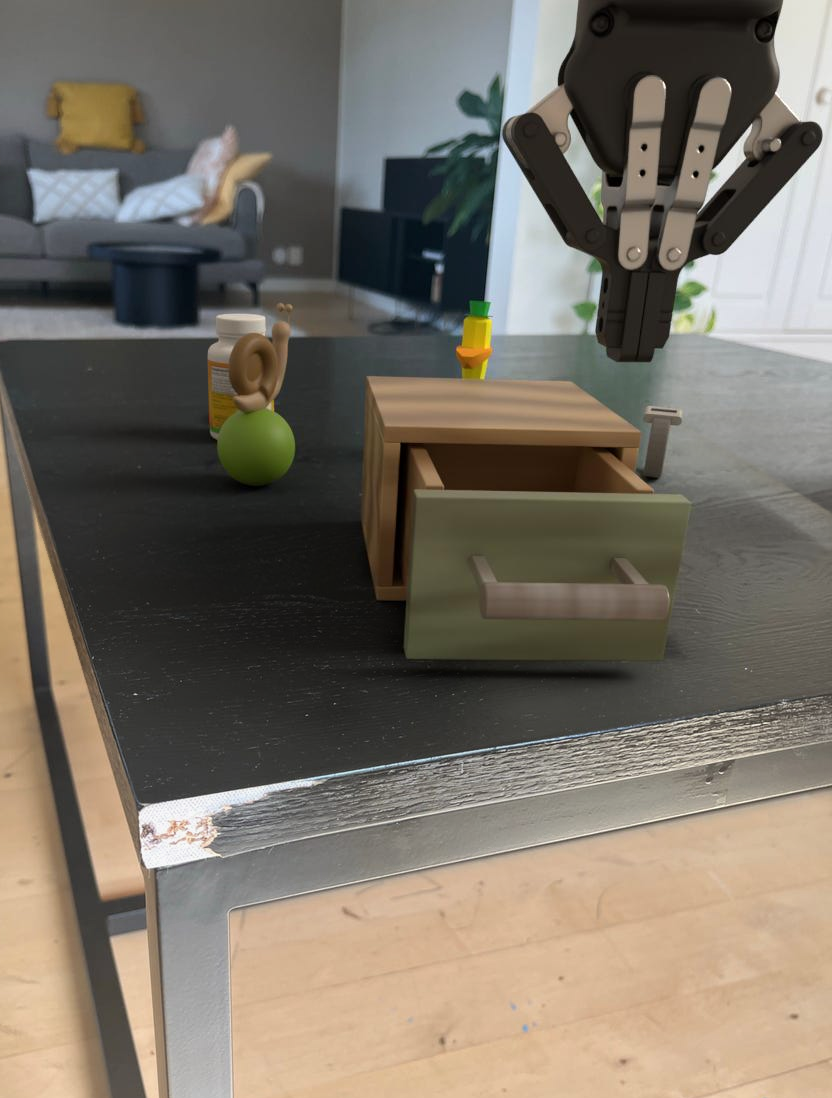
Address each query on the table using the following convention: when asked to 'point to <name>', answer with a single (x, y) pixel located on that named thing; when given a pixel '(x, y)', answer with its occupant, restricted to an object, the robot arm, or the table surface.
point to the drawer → (535, 554)
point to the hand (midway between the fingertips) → (628, 359)
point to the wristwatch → (659, 436)
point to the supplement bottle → (218, 360)
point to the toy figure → (475, 341)
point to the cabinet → (466, 440)
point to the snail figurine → (257, 409)
